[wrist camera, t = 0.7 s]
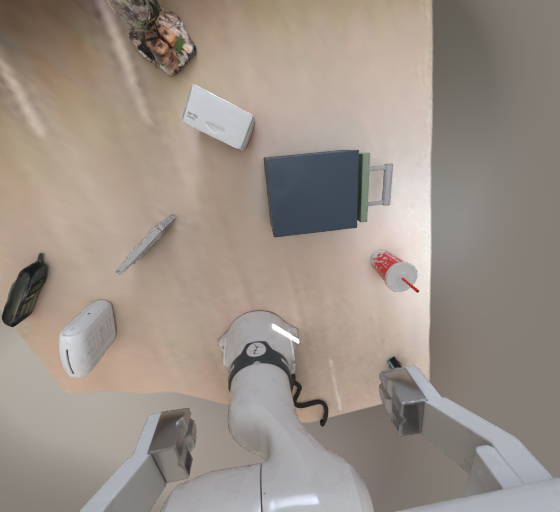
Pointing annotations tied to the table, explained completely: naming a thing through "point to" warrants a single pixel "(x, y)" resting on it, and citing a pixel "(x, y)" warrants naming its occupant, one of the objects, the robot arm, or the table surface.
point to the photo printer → (87, 338)
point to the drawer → (364, 185)
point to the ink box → (218, 118)
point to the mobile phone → (24, 293)
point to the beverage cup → (394, 271)
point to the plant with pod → (156, 33)
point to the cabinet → (312, 192)
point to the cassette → (146, 244)
